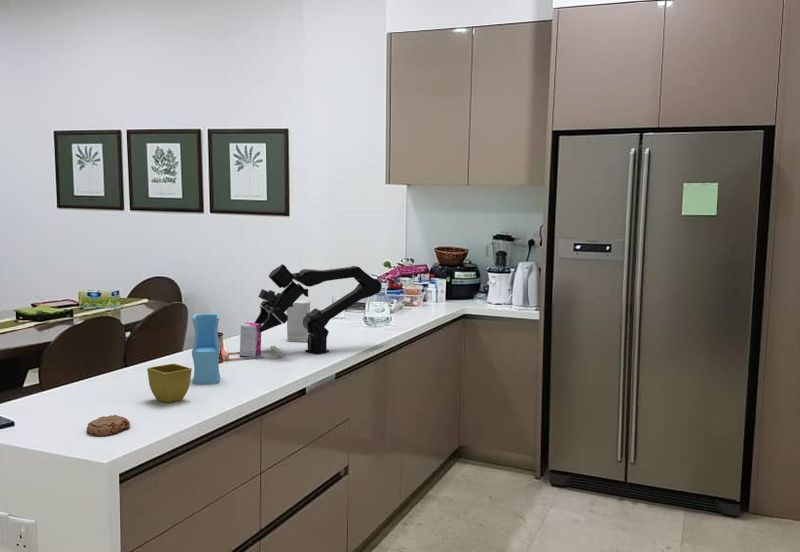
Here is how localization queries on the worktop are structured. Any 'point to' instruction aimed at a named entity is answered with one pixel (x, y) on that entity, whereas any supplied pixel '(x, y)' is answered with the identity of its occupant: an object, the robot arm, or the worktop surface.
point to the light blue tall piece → (206, 349)
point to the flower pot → (169, 381)
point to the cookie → (107, 425)
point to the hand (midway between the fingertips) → (256, 328)
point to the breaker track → (273, 349)
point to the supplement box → (250, 340)
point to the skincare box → (297, 321)
